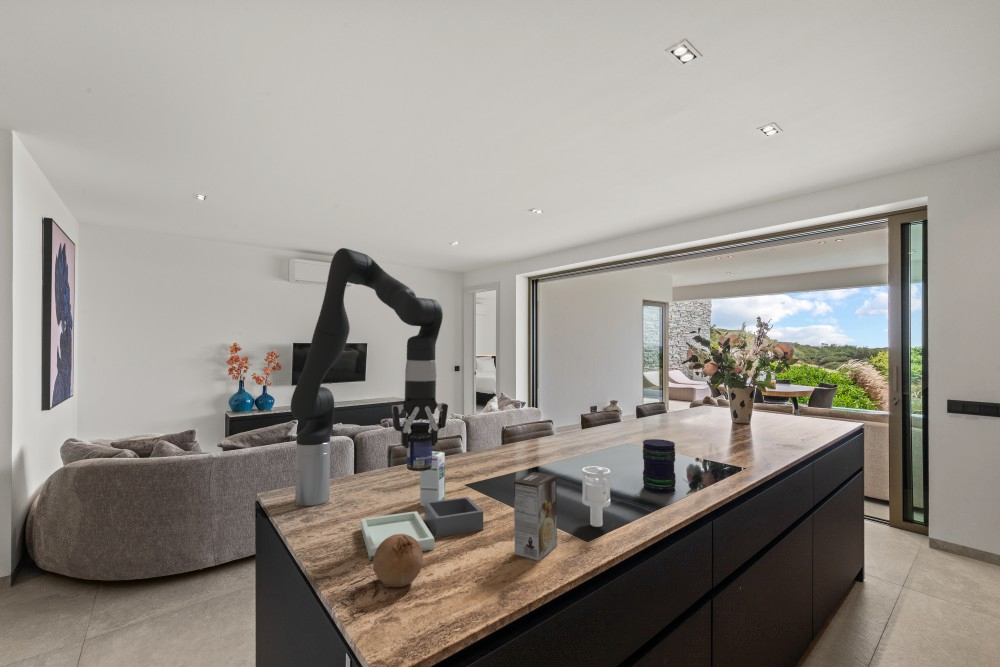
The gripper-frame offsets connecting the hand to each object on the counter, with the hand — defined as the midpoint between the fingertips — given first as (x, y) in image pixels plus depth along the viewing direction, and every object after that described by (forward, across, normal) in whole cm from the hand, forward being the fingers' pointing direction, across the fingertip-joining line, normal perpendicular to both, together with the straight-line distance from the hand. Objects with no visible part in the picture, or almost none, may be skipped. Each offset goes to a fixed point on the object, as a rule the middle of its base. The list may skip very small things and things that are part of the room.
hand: (419, 446), depth 111 cm
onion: (+21, +9, +22) cm, 32 cm away
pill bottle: (+6, 0, 0) cm, 6 cm away
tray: (+21, +6, +2) cm, 22 cm away
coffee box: (+21, -22, +20) cm, 36 cm away
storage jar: (+20, -78, -1) cm, 81 cm away
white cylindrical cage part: (+21, -43, +14) cm, 50 cm away
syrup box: (+21, -9, -18) cm, 29 cm away
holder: (+21, -9, -1) cm, 23 cm away
